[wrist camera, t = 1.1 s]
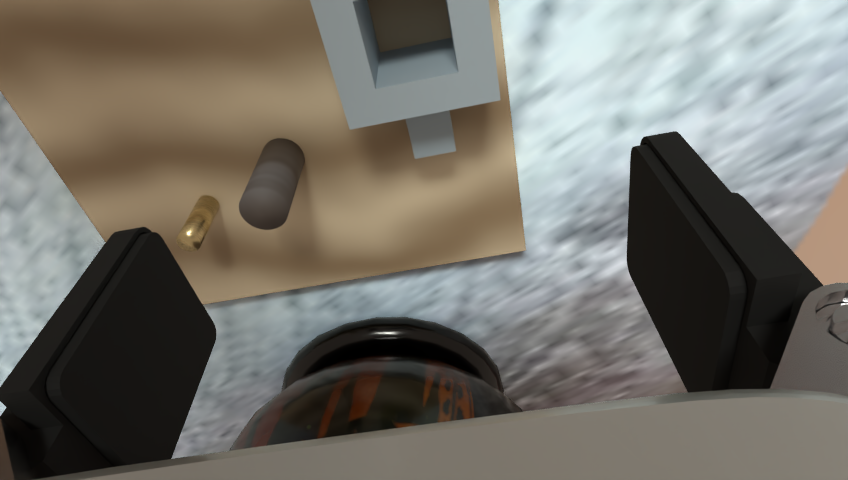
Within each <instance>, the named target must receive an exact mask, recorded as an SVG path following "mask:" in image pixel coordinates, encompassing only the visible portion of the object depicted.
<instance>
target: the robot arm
mask: <svg viewBox="0 0 848 480" xmlns="http://www.w3.org/2000/svg"><path fill="white" fill-rule="evenodd" d="M627 265H628V270H629V273H630V276H631V278H632V280H633V282H634V284H635V286H636V288H637V290H638V292H639V294H640V296H641V298H642V300H643V302H644V304H645V306H646V308H647V310H648V312H649V314H650V316H651V319H652V321H653V323H654V325H655V327H656V329H657V331H658V333H659V335H660V337H661V339H662V341H663V343H664V345H665V347H666V349H667V351H668V353H669V355H670V357H671V359H672V361H673V363H674V365H675V367H676V369H677V371H678V373H679V375H680V377H681V379H682V381H683V383H684V385H685V387H686V389H687V391H688V393H677V394H668V395H659V396H650V397H642V398H633V399H624V400H615V401H606V402H598V403H589V404H580V405H572V406H564V407H556V408H548V409H541V410H533V411H525V412H517V413H510V414H502V415H494V416H486V417H479V418H471V419H463V420H455V421H448V422H440V423H432V424H424V425H417V426H409V427H402V428H394V429H387V430H379V431H372V432H365V433H357V434H350V435H342V436H335V437H327V438H320V439H312V440H305V441H298V442H290V443H283V444H276V445H268V446H261V447H253V448H246V449H239V450H232V451H225V452H218V453H210V454H203V455H196V456H189V457H182V458H175V459H171V458H172V455H173V452H174V450H175V447H176V444H177V442H178V439H179V436H180V434H181V431H182V428H183V426H184V423H185V421H186V418H187V415H188V413H189V410H190V407H191V405H192V402H193V399H194V397H195V394H196V391H197V389H198V386H199V383H200V381H201V378H202V375H203V373H204V370H205V367H206V365H207V362H208V359H209V357H210V354H211V352H212V349H213V346H214V344H215V340H216V328H215V325H214V323H213V321H212V319H211V318H210V316H209V315H208V313H207V311H206V310H205V308H204V306H203V305H202V303H201V301H200V300H199V298H198V296H197V295H196V293H195V291H194V290H193V288H192V286H191V285H190V283H189V281H188V280H187V278H186V276H185V275H184V273H183V271H182V270H181V268H180V266H179V265H178V263H177V261H176V260H175V258H174V256H173V255H172V253H171V251H170V250H169V248H168V246H167V245H166V243H165V242H164V240H163V238H162V237H161V236H160V235H159V234H158V233H156V232H152V231H151V230H150V229H148V228H146V227H139V228H133V229H128V230H122V231H117V232H114V233H113V234H112V235H111V236H110V238H109V239H108V240H107V242H106V243H105V244H104V246H103V247H102V249H101V250H100V251H99V253H98V254H97V255H96V257H95V258H94V260H93V261H92V262H91V264H90V265H89V266H88V268H87V269H86V271H85V272H84V273H83V275H82V276H81V277H80V279H79V280H78V281H77V283H76V284H75V286H74V287H73V288H72V290H71V291H70V292H69V294H68V295H67V297H66V298H65V299H64V301H63V302H62V303H61V305H60V306H59V307H58V309H57V310H56V312H55V313H54V314H53V316H52V317H51V318H50V320H49V321H48V323H47V324H46V325H45V327H44V328H43V329H42V331H41V332H40V333H39V335H38V336H37V338H36V339H35V340H34V342H33V343H32V344H31V346H30V347H29V349H28V350H27V351H26V353H25V354H24V355H23V357H22V358H21V359H20V361H19V362H18V364H17V365H16V366H15V368H14V369H13V370H12V372H11V373H10V375H9V376H8V377H7V379H6V380H5V381H4V383H3V384H2V386H1V387H0V401H1V402H2V403H3V404H4V405H5V406H6V407H7V408H6V409H5V411H4V412H3V413H2V415H1V416H0V480H848V283H835V284H830V285H825V286H823V285H822V283H821V282H820V281H819V280H818V279H817V278H816V277H815V276H814V275H813V273H812V272H811V271H810V270H809V269H808V268H807V267H806V266H805V265H804V264H803V262H802V261H801V260H800V259H799V258H798V257H797V256H796V255H795V254H794V253H793V251H792V250H791V249H790V248H789V247H788V246H787V245H786V244H785V243H784V241H783V240H782V239H781V238H780V237H779V236H778V235H777V234H776V233H775V232H774V230H773V229H772V228H771V227H770V226H769V225H768V224H767V223H766V222H765V220H764V219H763V218H762V217H761V216H760V215H759V214H758V213H757V212H756V211H755V209H754V208H753V207H752V206H751V205H750V204H749V203H748V202H747V201H746V199H745V198H743V197H742V196H741V195H740V194H738V193H731V192H730V190H729V189H728V188H727V187H726V186H725V185H724V184H723V183H722V181H721V180H720V179H719V178H718V177H717V176H716V175H715V174H714V172H713V171H712V170H711V169H710V168H709V167H708V166H707V164H706V163H705V162H704V161H703V160H702V159H701V158H700V157H699V155H698V154H697V153H696V152H695V151H694V150H693V149H692V147H691V146H690V145H689V144H688V143H687V142H686V141H685V140H684V138H683V137H682V136H681V135H680V134H679V133H678V132H669V133H663V134H658V135H652V136H646V137H643V139H642V141H641V144H640V146H635V147H633V148H632V150H631V162H630V188H629V214H628V240H627Z"/></svg>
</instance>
